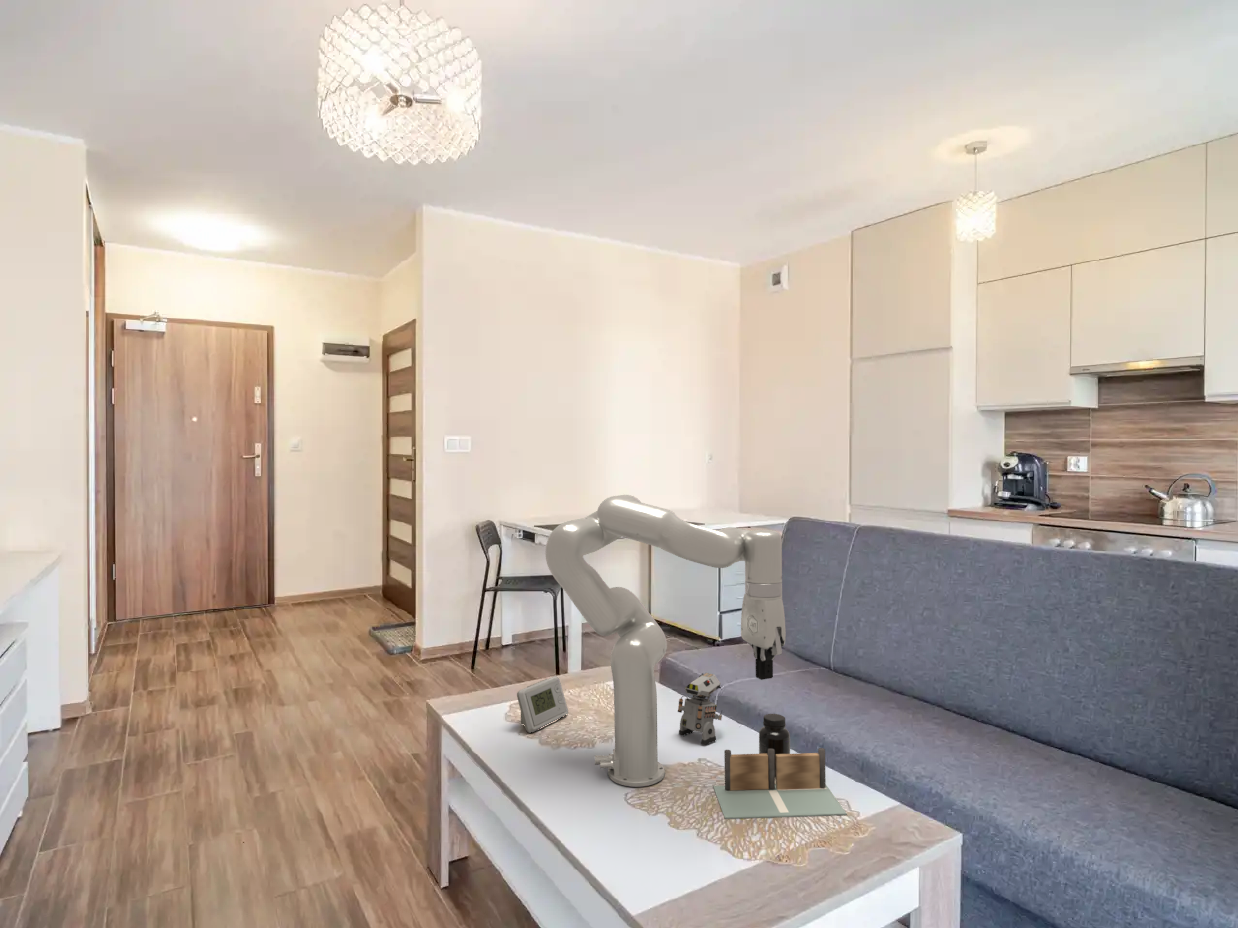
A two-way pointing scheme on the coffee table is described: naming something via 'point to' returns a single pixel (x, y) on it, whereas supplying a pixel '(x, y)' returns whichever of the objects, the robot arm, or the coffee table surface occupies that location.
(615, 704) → the robot arm
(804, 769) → the fence fixed panel
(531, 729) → the digital clock
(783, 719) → the supplement bottle
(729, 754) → the panel
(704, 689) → the figurine
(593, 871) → the coffee table surface
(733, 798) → the board
